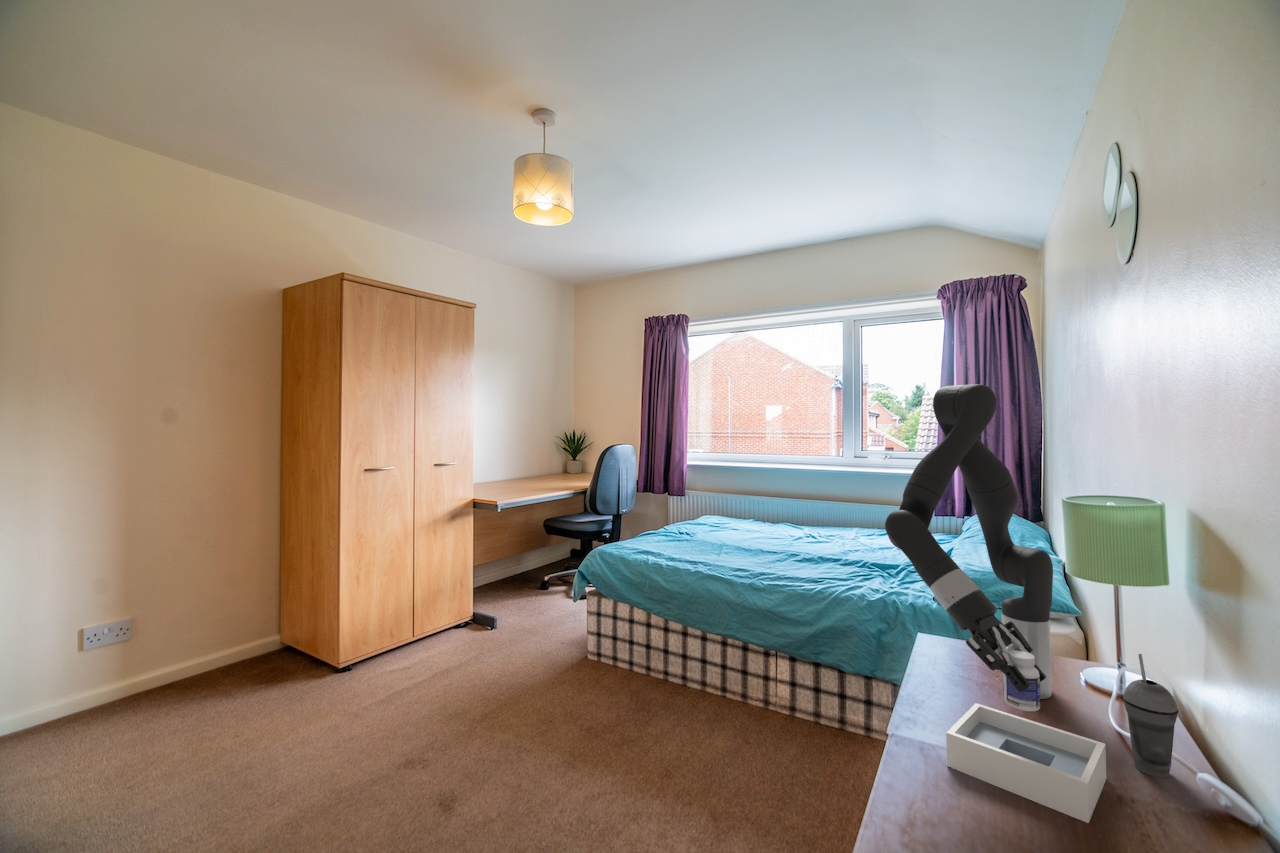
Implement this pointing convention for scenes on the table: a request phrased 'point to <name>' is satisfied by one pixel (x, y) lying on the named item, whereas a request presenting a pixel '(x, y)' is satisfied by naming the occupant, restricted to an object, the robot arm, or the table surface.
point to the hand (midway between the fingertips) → (1033, 684)
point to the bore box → (1029, 759)
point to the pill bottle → (1024, 664)
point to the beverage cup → (1150, 724)
